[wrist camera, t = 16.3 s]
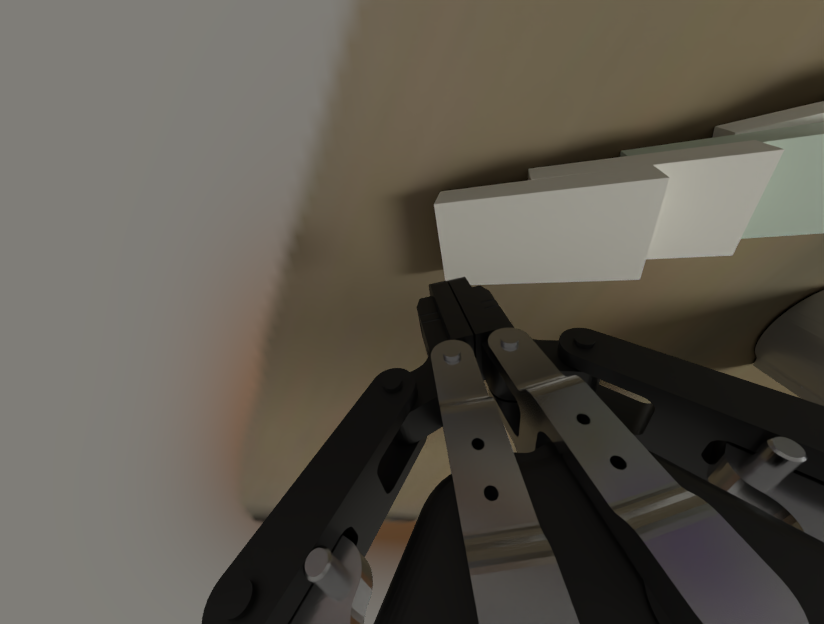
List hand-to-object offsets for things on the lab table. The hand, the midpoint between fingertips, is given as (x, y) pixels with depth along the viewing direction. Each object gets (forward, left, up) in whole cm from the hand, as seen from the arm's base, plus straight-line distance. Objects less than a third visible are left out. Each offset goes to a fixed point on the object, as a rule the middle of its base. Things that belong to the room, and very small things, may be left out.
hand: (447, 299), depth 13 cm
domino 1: (0, -1, -6) cm, 6 cm away
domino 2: (0, -6, -6) cm, 9 cm away
